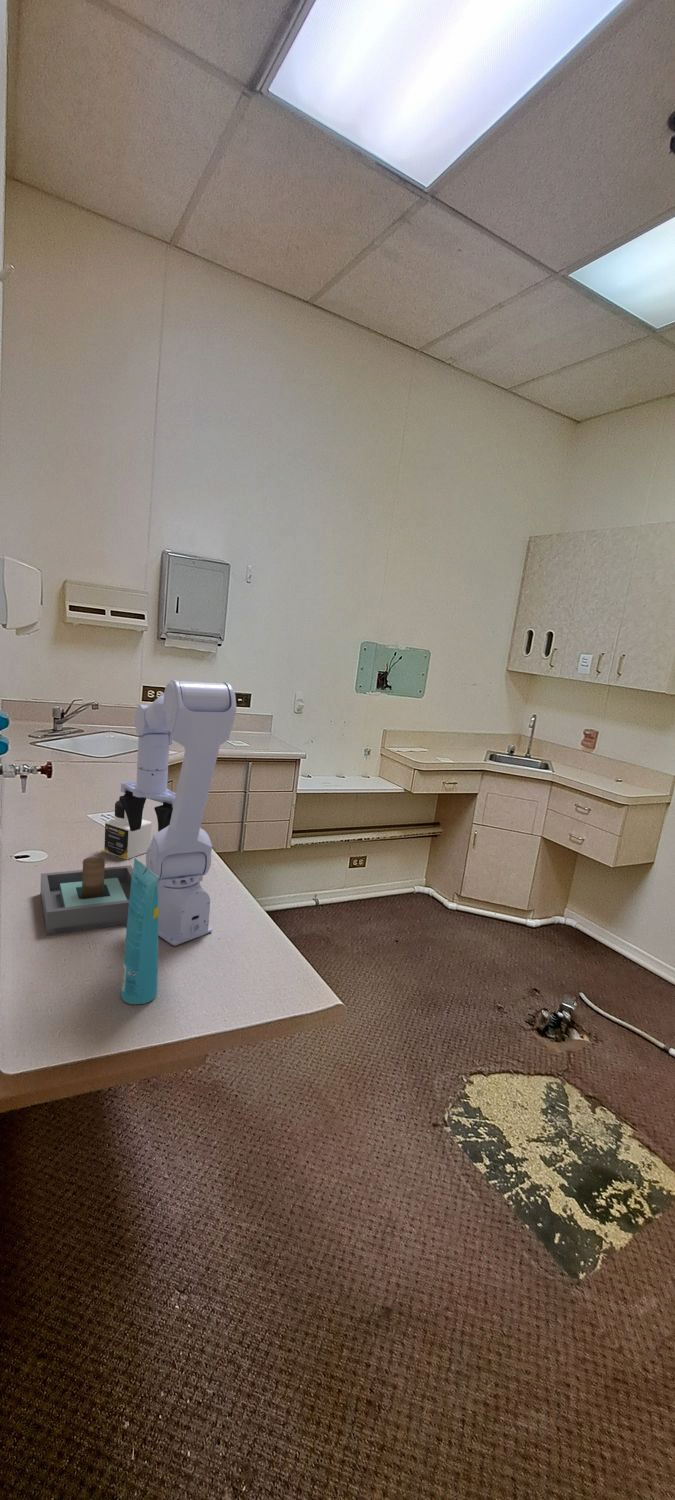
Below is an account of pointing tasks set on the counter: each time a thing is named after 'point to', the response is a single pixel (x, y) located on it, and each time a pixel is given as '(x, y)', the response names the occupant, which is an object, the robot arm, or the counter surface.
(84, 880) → the peg
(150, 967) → the tube
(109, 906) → the tray
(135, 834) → the medicine bottle
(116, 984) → the counter surface
